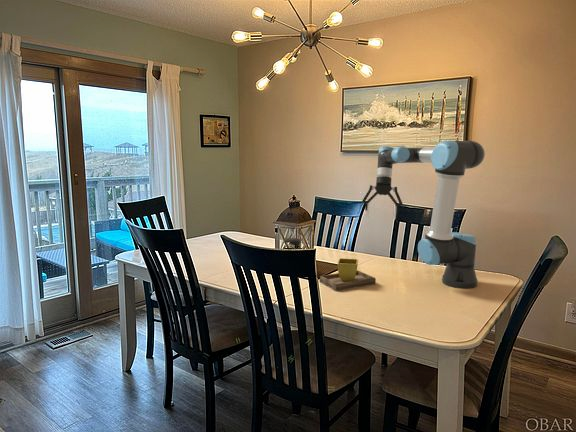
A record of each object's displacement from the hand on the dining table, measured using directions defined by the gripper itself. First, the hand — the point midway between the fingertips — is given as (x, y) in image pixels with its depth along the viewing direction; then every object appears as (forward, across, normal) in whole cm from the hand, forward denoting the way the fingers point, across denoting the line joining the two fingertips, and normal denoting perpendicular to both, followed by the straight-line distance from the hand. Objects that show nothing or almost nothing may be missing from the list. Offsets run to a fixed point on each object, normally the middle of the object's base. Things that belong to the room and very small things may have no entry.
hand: (380, 218), depth 225 cm
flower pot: (+32, +13, +24) cm, 42 cm away
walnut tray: (+33, +13, +24) cm, 43 cm away
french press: (+31, +41, +11) cm, 53 cm away
